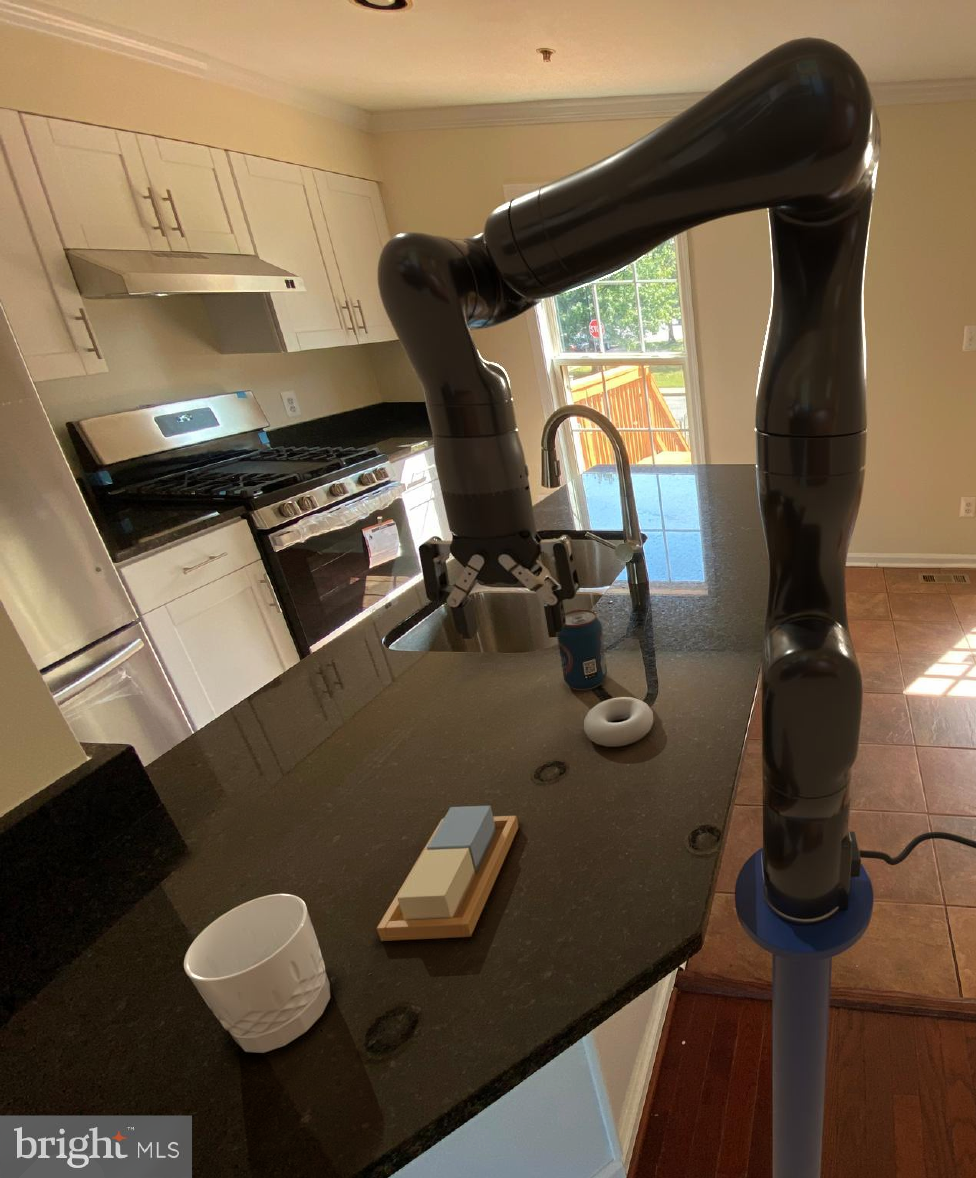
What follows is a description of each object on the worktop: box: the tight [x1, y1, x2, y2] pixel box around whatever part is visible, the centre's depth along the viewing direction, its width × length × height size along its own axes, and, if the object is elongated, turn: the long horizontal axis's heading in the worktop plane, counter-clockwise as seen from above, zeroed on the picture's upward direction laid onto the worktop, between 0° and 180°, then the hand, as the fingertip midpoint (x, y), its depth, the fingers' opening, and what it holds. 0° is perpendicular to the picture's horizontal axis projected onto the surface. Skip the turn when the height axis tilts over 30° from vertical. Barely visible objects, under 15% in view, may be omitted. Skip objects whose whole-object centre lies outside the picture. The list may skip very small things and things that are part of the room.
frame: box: [376, 815, 519, 942], centre depth 68 cm, size 9×15×2 cm, turn 3°
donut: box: [583, 696, 654, 748], centre depth 93 cm, size 10×4×10 cm
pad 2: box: [397, 848, 476, 920], centre depth 65 cm, size 4×6×4 cm
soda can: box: [556, 609, 608, 691], centre depth 103 cm, size 7×7×12 cm
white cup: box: [183, 893, 331, 1054], centre depth 54 cm, size 8×8×10 cm
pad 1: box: [427, 805, 497, 873], centre depth 71 cm, size 4×6×4 cm
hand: (513, 634), depth 65 cm, fingers open, 8 cm apart
